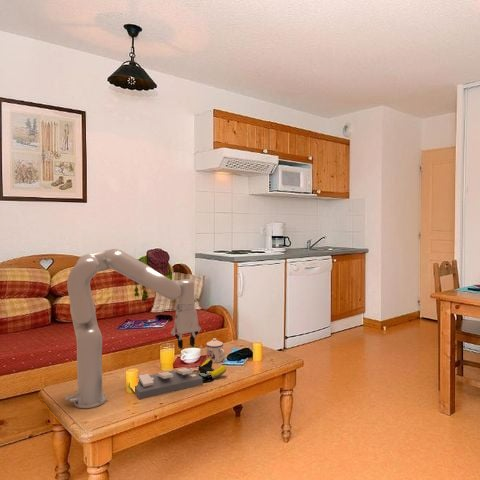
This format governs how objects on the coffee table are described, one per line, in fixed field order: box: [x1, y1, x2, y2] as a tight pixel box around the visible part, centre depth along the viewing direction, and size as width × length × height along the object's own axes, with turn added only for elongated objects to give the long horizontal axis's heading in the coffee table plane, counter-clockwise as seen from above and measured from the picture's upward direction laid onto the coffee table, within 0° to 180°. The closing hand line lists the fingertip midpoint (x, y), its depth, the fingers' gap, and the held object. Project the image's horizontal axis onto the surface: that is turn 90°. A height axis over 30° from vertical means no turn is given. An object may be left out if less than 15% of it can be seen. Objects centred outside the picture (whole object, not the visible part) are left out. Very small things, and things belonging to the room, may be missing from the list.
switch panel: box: [134, 367, 204, 400], centre depth 183 cm, size 29×16×4 cm, turn 121°
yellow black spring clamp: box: [196, 359, 227, 379], centre depth 195 cm, size 15×6×10 cm
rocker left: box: [137, 370, 154, 387], centre depth 178 cm, size 4×10×1 cm, turn 30°
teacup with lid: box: [205, 337, 226, 364], centre depth 215 cm, size 12×9×12 cm
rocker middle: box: [155, 370, 173, 379], centre depth 182 cm, size 4×10×1 cm, turn 31°
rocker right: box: [174, 366, 193, 375], centre depth 187 cm, size 4×10×1 cm, turn 31°
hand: (186, 346), depth 183 cm, fingers open, 4 cm apart
